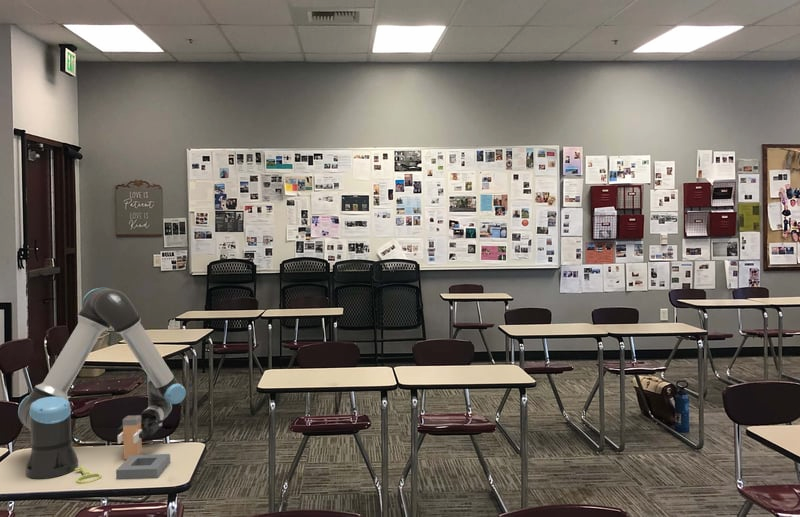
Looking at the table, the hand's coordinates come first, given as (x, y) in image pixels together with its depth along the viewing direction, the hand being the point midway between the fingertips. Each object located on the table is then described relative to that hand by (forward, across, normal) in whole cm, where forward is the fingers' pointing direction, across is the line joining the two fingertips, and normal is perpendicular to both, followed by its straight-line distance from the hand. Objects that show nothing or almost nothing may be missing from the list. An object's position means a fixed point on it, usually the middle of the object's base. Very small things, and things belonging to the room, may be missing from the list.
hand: (126, 439), depth 209 cm
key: (+10, +9, -9) cm, 17 cm away
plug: (-5, 0, -8) cm, 10 cm away
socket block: (+7, -8, -8) cm, 13 cm away
